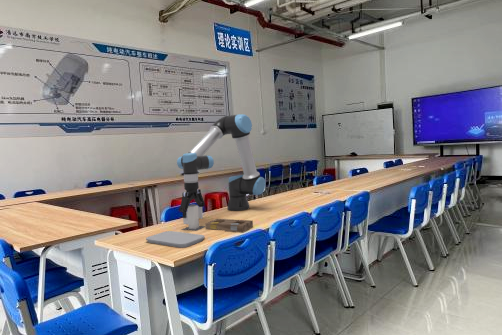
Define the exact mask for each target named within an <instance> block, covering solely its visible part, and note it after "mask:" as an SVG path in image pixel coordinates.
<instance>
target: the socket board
mask: <svg viewBox="0 0 502 335" xmlns="http://www.w3.org/2000/svg"><path fill="white" fill-rule="evenodd" d="M204 226H205V227H204V228H205V230H209V231H221V232H222V231H223V232H228V233H229V232H230V233H245V232H247V231H248V230H251V229H252V228H253V227H254V222H253V220H249V219H248V220H247V219H246V220H245V219H233V218H232V219H230V218H215V219H212V220H211V221H208V222H205V224H204Z"/></svg>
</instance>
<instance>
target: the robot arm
mask: <svg viewBox="0 0 502 335" xmlns="http://www.w3.org/2000/svg"><path fill="white" fill-rule="evenodd" d="M252 123H253V122H252V120H251V118H250V117H249V116H248V115H246V114H242V113H241V114H239V113H238V114H232V115H231V114H230V115H225V116H222V117H221V118H219V119H218V120H216V121H215V122H214V123H213V124H212V125H211V126H210V127H209V130H208V131H207V132H206V133H205V135H204V136H202V137H201V139H200V140H199V141H198V142H197V143H196V144H195V145H193V147H192V148H191V149H190V150H189V151H188V152H187V153H183V154H182V156H179V157H178V158H177V160H176V165H177V167H178V168H179V169H181V170H182V171H183V182H184V183H183V186H184V187H183V188H184V190H185V192H182V196H181V202H180V206H179V212H182V220H183V225H188V224H189V221H188V207H189V205H191V202H192V200H194V202H195V203H196V205H198V217H199V219H201V220H202V219H204V217H203V216H204V215H203V214H204V213H203V209H204V208H203V207H205V200H204V197H203V195H202V191H201V189H199V187H200V186H199V185H200V184H199V182H198V181H199V172H198V171H200V170H209V169H211V168H213V166H214V165H215V161H214V158H213V156H211V155H207V154H206V155H205V153H207V152H208V150H209V149H210V148H211V147H212V146H213V145H214V144H215V143H216V142H217V140H219V139H222V138H223V137H224V136H226V135H231V138H232V139H233V140H235V145H236V148H237V152H238V156H239V160H240V164H241V168H242V173H243V174H241V175H232V176H230V177H228V197H229V199H228V203H227V211H231V212H232V211H233V212H239V211H246V210H249V209H250V203H249V200H248V198H247V195H250V196H251V195H252V196H256V195H257V196H260V195H261V194H263V193H264V191H265V190H266V189H265V188H266V183H267V182H266V179H265V178H264V177H263V176H261V174H260V172H259V171H258V170H257V167H256V163H255V159H254V154H253V151H252V146H251V142H250V137H249V136H250V135H251V131H252V130H253V127H252V126H253V124H252Z"/></svg>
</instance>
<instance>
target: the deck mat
mask: <svg viewBox="0 0 502 335" xmlns="http://www.w3.org/2000/svg"><path fill="white" fill-rule="evenodd" d="M204 228H205V225H199V228H196V229H189V226H187V227H184V228H182V229H180V230H182V231H191V232H192V231H193V232H198V231H200V230H202V229H204Z"/></svg>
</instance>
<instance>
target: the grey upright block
mask: <svg viewBox="0 0 502 335" xmlns="http://www.w3.org/2000/svg"><path fill="white" fill-rule="evenodd" d="M198 207H199V206H198V205H197V203H196V204H192V203H190V204H189V207H188V209H187V212H188V221H189V224H187V225H188V227H189V229H196V228H199V226H200V220H199V217H198Z"/></svg>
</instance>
